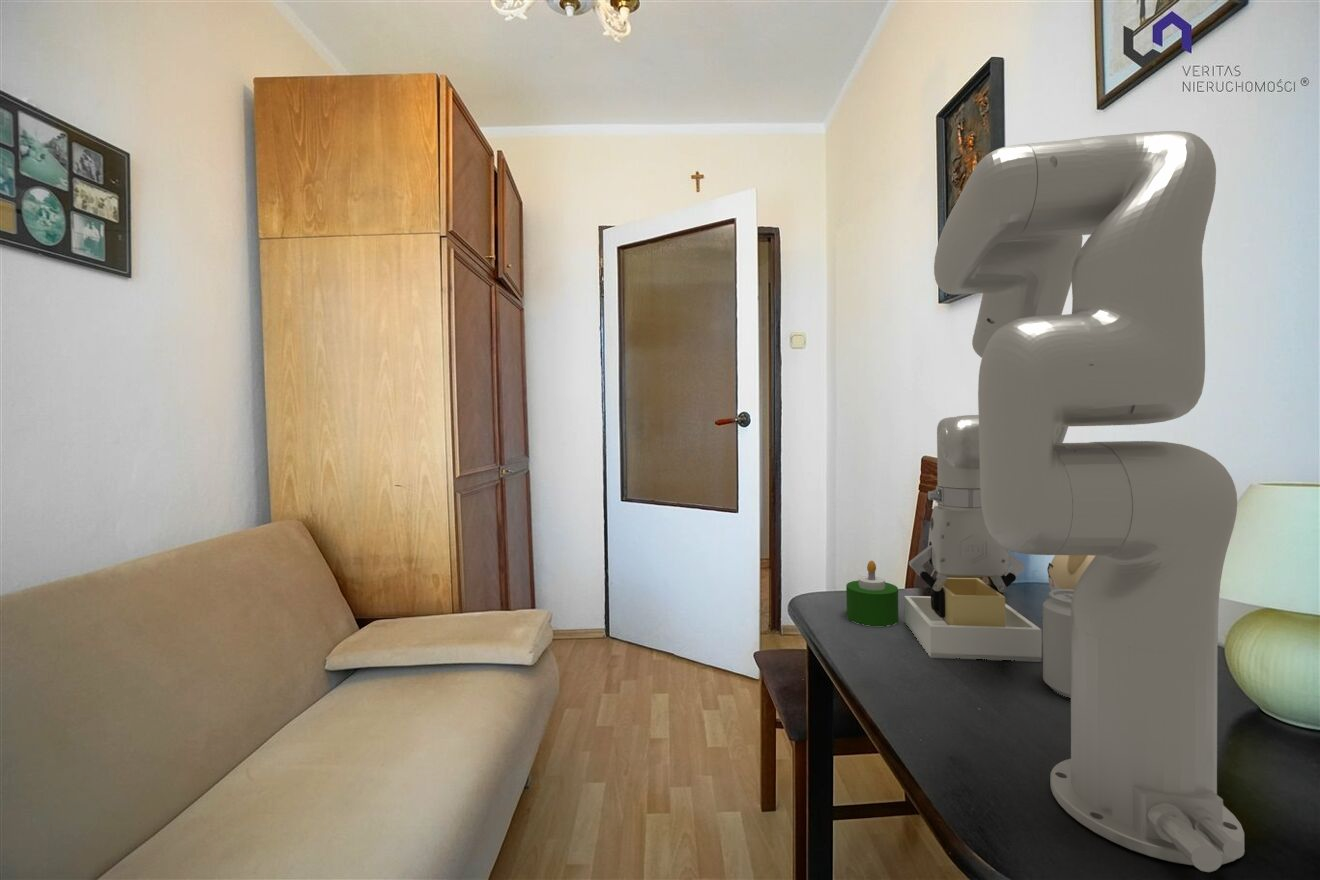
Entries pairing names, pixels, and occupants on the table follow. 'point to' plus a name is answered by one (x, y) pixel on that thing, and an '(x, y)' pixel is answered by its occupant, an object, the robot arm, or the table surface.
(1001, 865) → the table surface
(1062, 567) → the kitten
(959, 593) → the small crate
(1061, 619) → the can
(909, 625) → the large crate
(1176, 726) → the robot arm
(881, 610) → the candle
